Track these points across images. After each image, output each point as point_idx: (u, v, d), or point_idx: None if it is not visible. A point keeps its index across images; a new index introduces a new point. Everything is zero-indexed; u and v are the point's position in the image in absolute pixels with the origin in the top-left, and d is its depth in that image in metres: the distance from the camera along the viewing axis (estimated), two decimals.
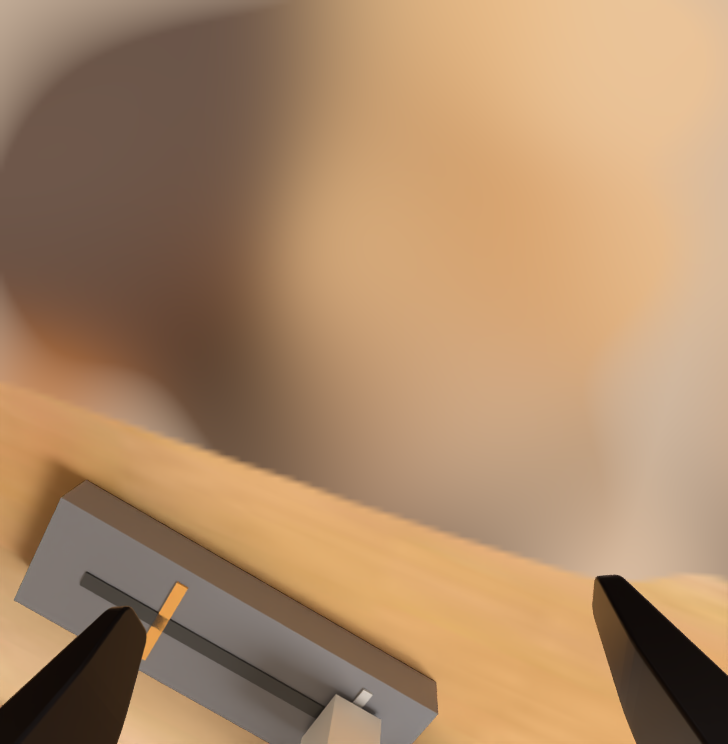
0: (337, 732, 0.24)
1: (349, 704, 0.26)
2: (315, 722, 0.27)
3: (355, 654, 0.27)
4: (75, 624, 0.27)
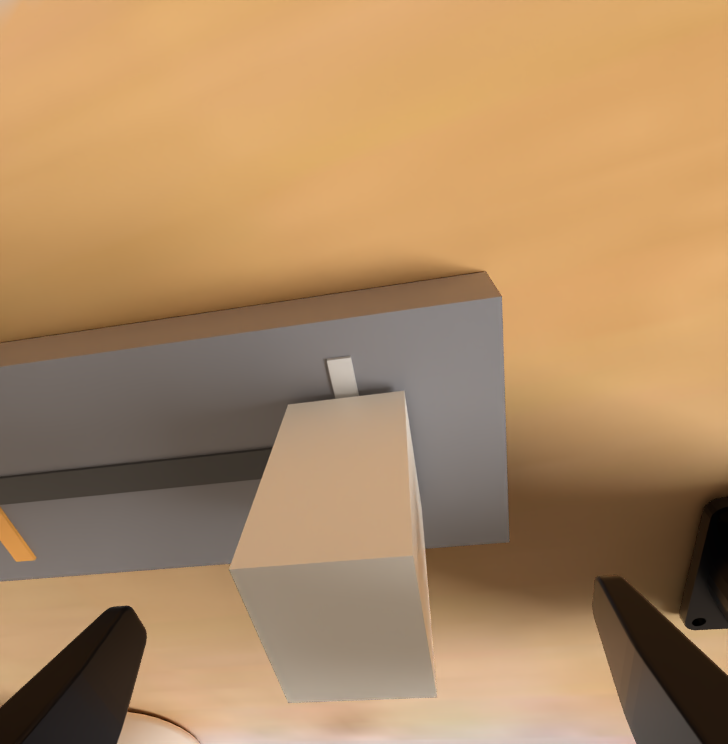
0: (290, 450, 0.10)
1: (322, 403, 0.12)
2: None
3: (275, 317, 0.12)
4: None
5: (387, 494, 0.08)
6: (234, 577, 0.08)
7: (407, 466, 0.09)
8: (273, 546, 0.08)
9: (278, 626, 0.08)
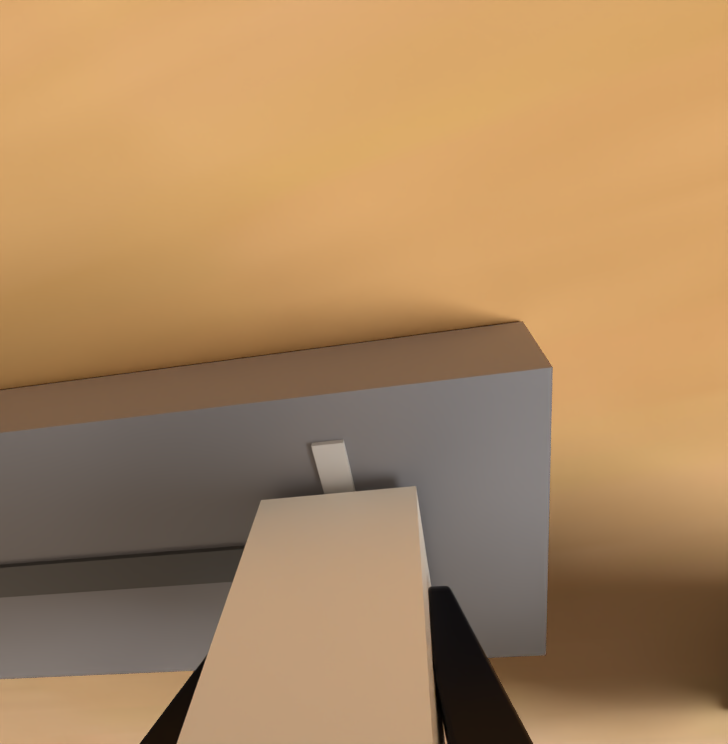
0: (256, 588, 0.07)
1: (305, 501, 0.09)
2: None
3: (244, 384, 0.09)
4: None
5: (395, 701, 0.05)
6: None
7: (424, 637, 0.06)
8: None
9: None
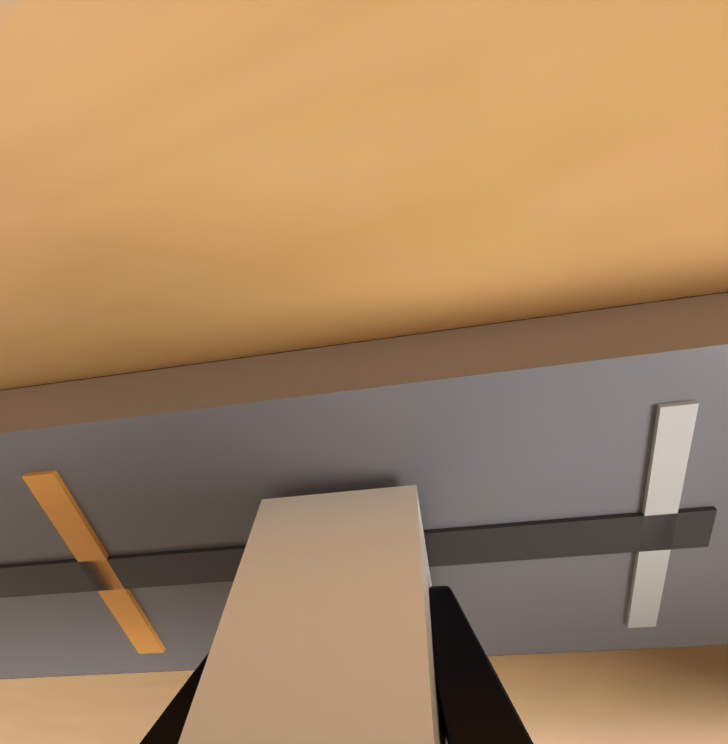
0: (257, 587, 0.07)
1: (306, 500, 0.09)
2: None
3: (568, 342, 0.08)
4: (16, 663, 0.13)
5: (396, 698, 0.05)
6: None
7: (425, 635, 0.06)
8: None
9: None
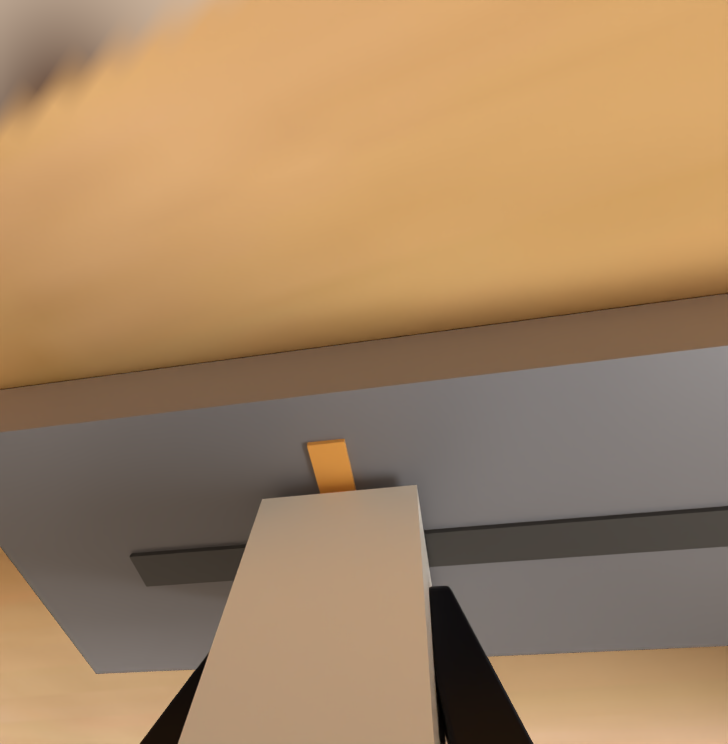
0: (258, 586, 0.07)
1: (306, 500, 0.09)
2: None
3: None
4: None
5: (396, 697, 0.06)
6: None
7: (425, 635, 0.06)
8: None
9: None
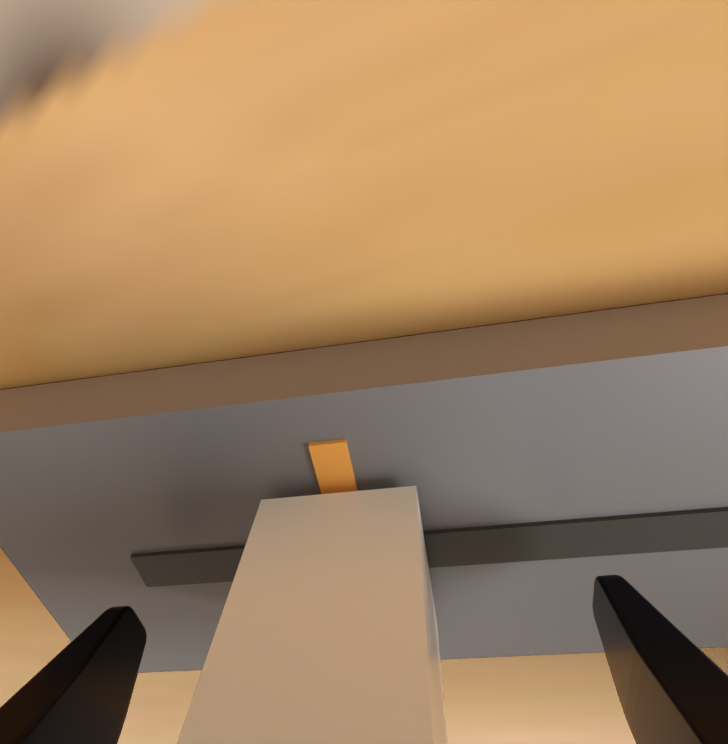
0: (256, 588, 0.07)
1: (305, 501, 0.09)
2: None
3: None
4: None
5: (396, 700, 0.05)
6: None
7: (424, 637, 0.06)
8: None
9: None
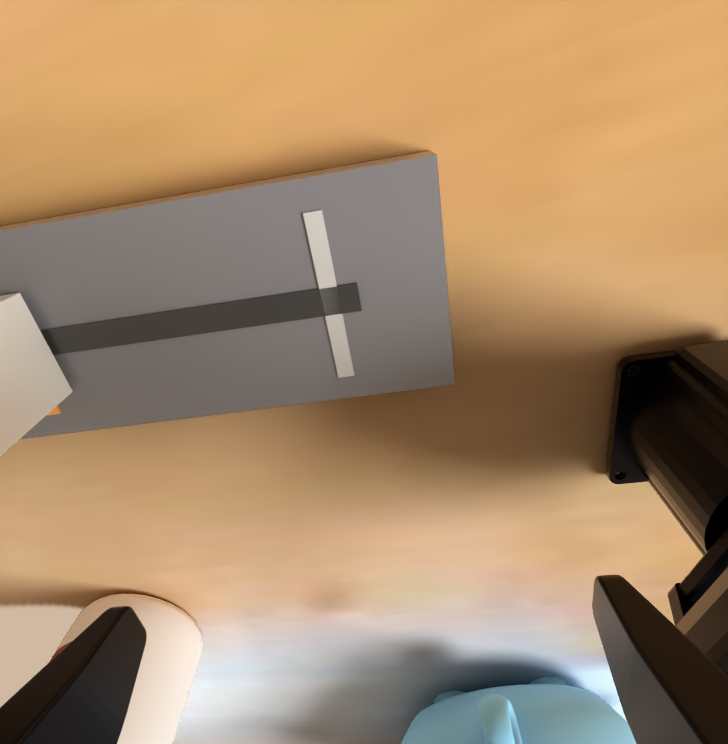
0: None
1: None
2: None
3: (262, 183, 0.15)
4: None
5: None
6: None
7: None
8: None
9: None
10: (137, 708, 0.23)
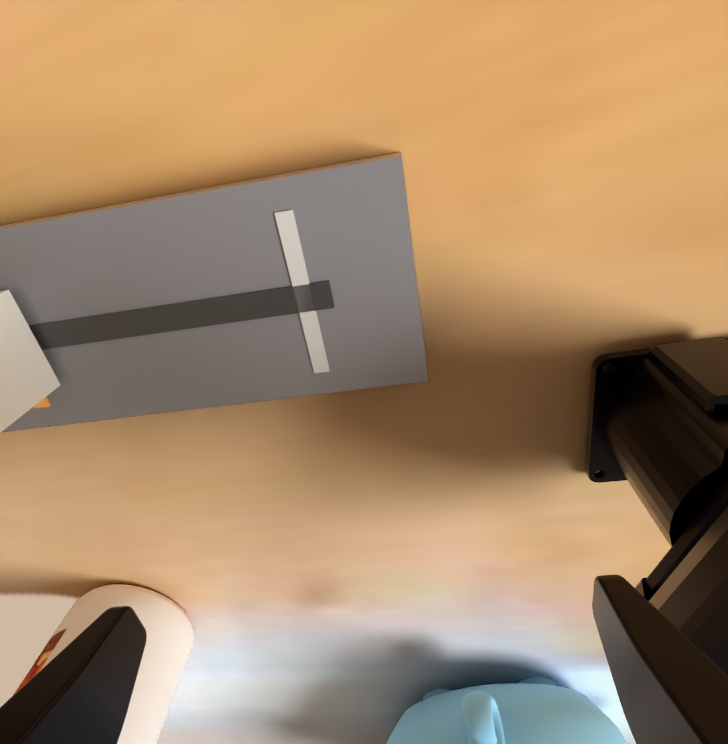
0: None
1: None
2: None
3: (236, 184, 0.16)
4: None
5: None
6: None
7: None
8: None
9: None
10: None
